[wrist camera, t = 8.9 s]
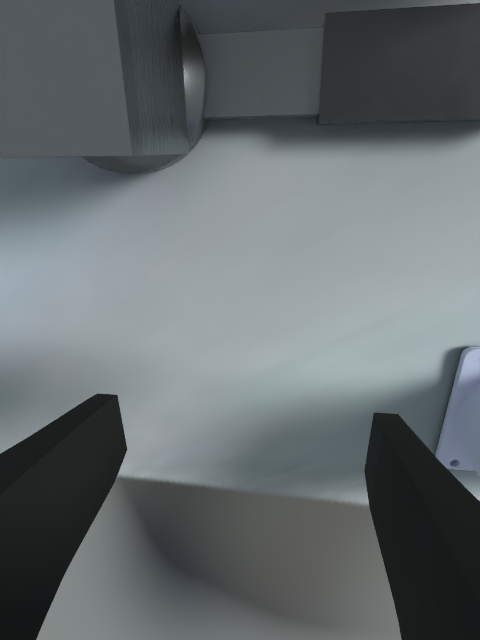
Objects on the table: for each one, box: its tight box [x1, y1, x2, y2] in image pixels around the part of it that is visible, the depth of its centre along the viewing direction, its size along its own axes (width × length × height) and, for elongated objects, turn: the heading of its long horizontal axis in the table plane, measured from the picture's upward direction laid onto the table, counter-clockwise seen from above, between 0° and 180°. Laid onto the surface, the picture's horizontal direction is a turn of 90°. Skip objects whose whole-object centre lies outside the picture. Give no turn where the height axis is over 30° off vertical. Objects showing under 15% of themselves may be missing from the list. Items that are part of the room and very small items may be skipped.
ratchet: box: [82, 3, 480, 173], centre depth 14 cm, size 20×7×4 cm, turn 90°
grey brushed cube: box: [0, 0, 189, 157], centre depth 12 cm, size 5×5×6 cm
